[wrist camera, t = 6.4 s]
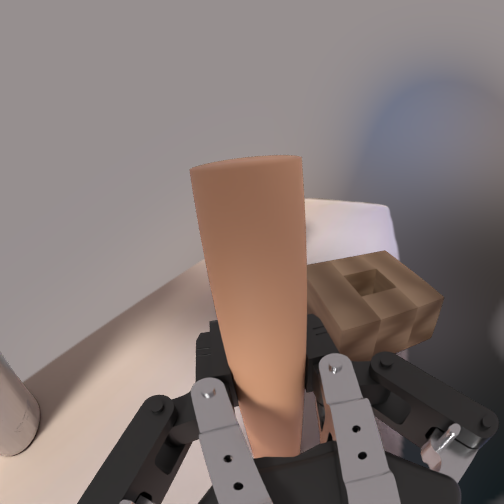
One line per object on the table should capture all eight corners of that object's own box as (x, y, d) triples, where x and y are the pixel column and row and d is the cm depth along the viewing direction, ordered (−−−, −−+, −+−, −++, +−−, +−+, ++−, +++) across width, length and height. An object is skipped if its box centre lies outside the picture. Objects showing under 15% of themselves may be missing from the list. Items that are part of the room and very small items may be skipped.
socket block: (335, 373, 21) (341, 330, 19) (300, 304, 31) (299, 266, 29) (431, 338, 22) (444, 297, 20) (380, 286, 32) (384, 250, 30)
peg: (258, 479, 13) (184, 176, 6) (252, 444, 16) (193, 164, 8) (304, 469, 13) (319, 160, 6) (293, 436, 16) (284, 153, 9)
